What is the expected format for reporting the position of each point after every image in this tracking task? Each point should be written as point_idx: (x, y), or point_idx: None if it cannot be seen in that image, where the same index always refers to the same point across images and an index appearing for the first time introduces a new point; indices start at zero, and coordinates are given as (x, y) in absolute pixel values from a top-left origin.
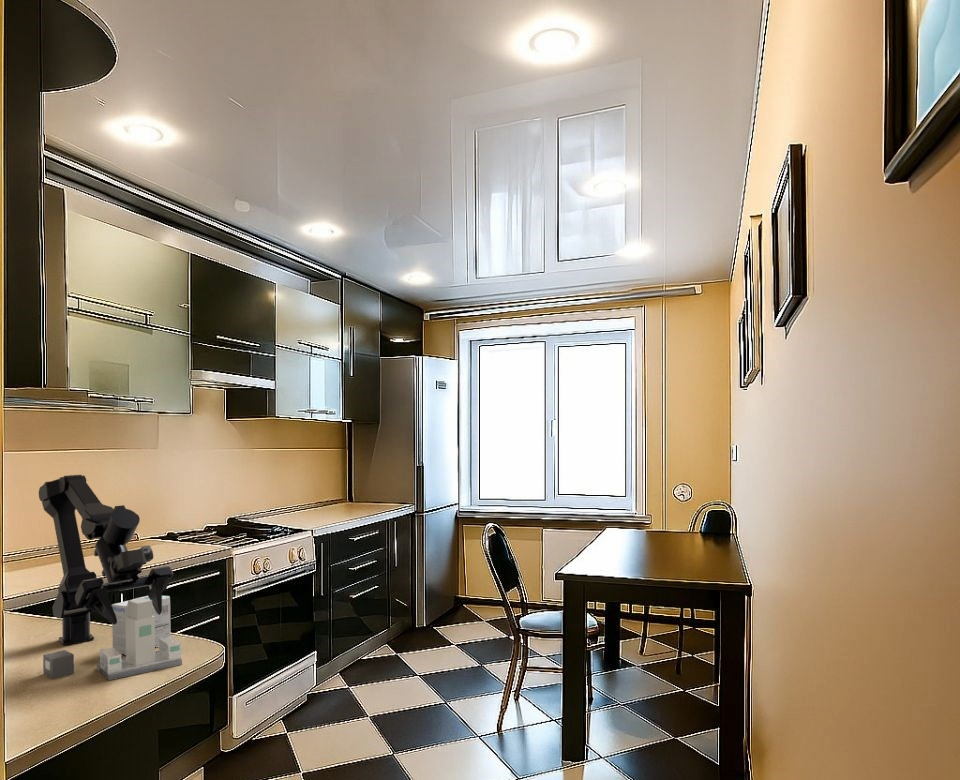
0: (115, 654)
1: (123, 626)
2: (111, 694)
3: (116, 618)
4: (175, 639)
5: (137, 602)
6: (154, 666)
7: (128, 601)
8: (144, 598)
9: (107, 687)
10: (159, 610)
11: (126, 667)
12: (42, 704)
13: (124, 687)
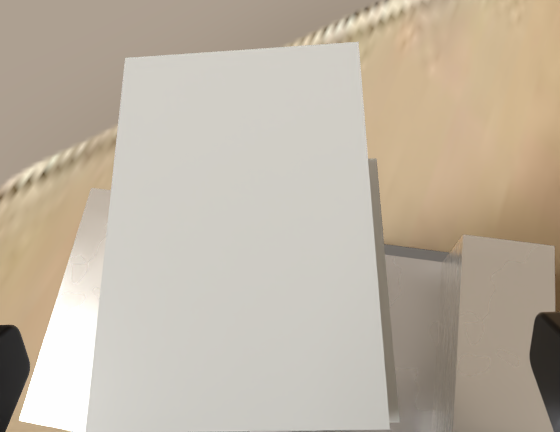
0: (493, 270)
1: None
2: (543, 72)
3: (554, 327)
4: (67, 284)
5: (329, 107)
6: None
7: (386, 391)
8: (102, 316)
9: (534, 174)
10: (5, 332)
11: (406, 283)
12: None
13: (471, 115)
